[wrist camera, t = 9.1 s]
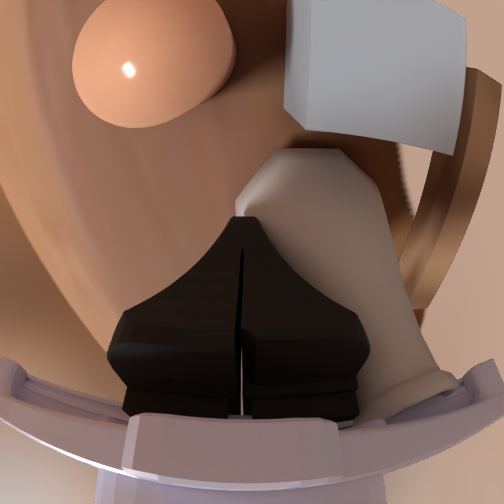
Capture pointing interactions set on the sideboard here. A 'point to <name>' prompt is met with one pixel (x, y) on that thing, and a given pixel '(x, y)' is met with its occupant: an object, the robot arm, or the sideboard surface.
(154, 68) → the peach egg shape
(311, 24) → the slate block
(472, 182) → the walnut rail
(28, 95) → the sideboard surface
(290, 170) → the flask
